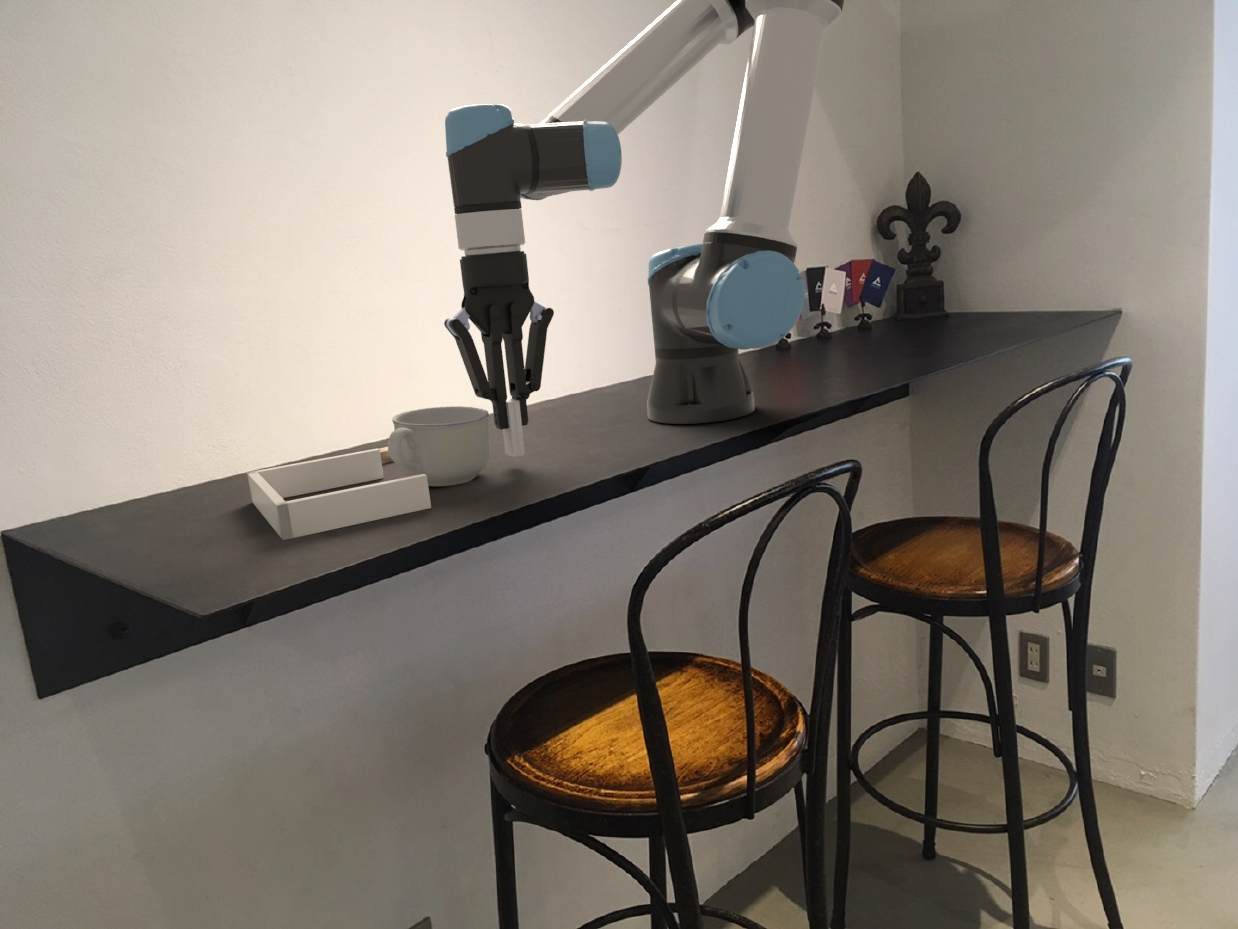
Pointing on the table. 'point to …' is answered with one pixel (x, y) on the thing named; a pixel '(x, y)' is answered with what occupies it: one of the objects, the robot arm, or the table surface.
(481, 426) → the teacup
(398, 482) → the tray
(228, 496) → the table surface
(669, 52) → the robot arm
